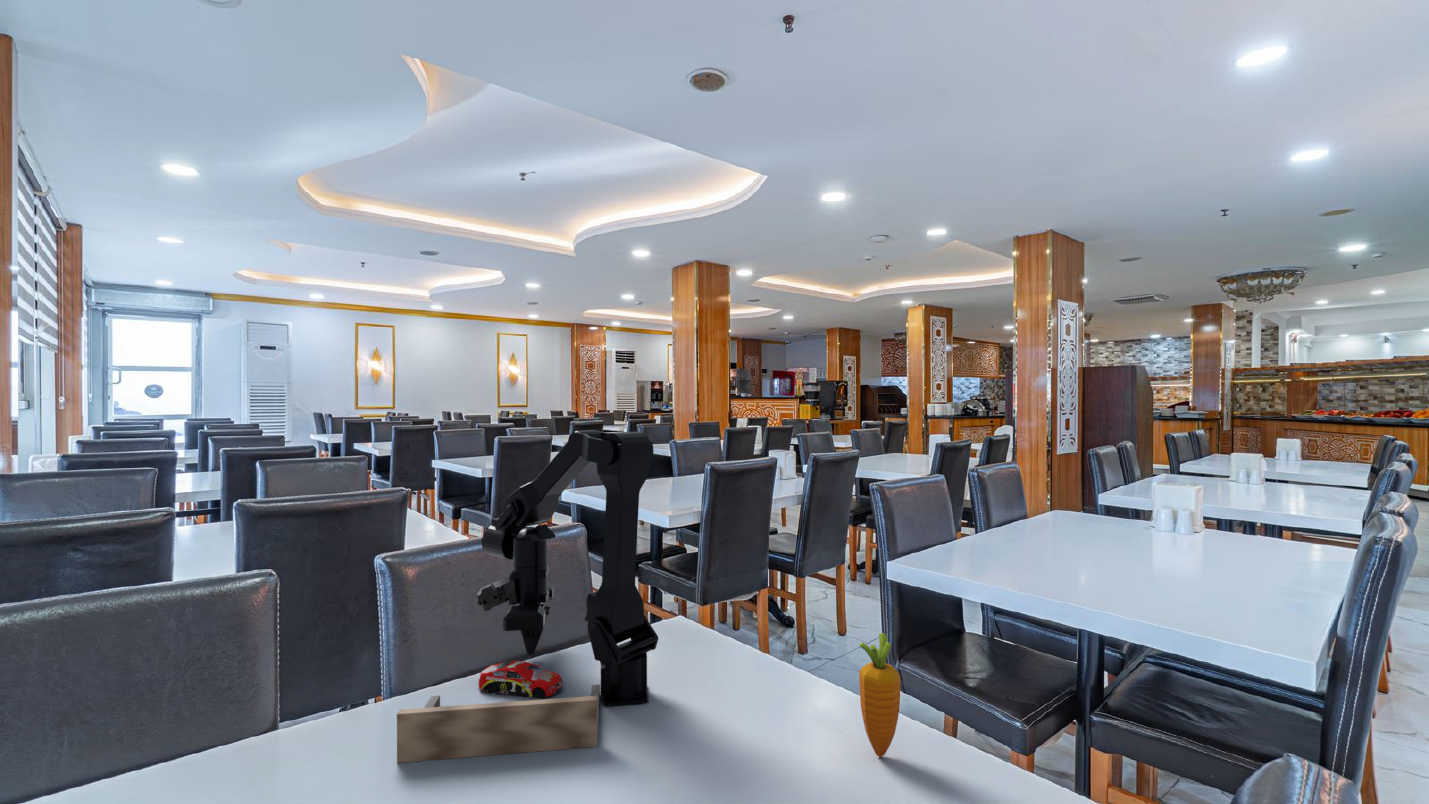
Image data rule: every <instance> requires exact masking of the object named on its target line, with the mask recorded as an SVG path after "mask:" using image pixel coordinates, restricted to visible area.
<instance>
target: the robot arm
mask: <svg viewBox="0 0 1429 804" xmlns="http://www.w3.org/2000/svg"><path fill="white" fill-rule="evenodd" d="M654 451H655V450H654V445H653V442H652V441H651V440H650V438H649V436H648V435H646V434H645V432H642V431H627V432H625V431H624V432H604V431H599V430H597V429H588V430H587V429H585V430H576V431H574V432H572V433H571V434H570V435H569V437H568V440H567V441H566V443H565V444H564V445H563V446H562V447H561V449H560V450H559V451H558V452H557V453H556V455H555V456H554V457H553V458H552V459H551V460H550V462H549V463H548V464H547V465H546V466H545V468H543V470H542V471H541V472H540V473H539V475H537V477H536V478H535V479H533V480H531V481H530V482H527V483H526V484H523V485H521V486H520V487H518V488H517V489H515V490H514V491H513V492H512V493H510V495H508V497H507V498H506V502H505V505H504V508H503V509H502V511H501V513H500V516H499V517H496V518H495V517H494V518H492V519H491V520H490V521H491V525H490V526H489V527H487V528H486V529H485V530H484V533H483V535H482V537H481V540H480V542H481V548H482V550H483V551H484V552H485V553H486V554H487V555H489V556H493V557H498V558H500V559H506V560H512V571H511V573H510V574H509V575H508V577H506V578H503V579H500V580H497V581H495V582H493V583H489V584H487V585H485V586H483V587H481V588H480V590H479V591H478V592H477V593H476V596H477V599H478V600H477V604H478V606H481V608H482V611H483V612H488V611H490V610H492V609H493V608H494V607H498V606H500V605H502V604H505V603H506V602H508V605H509V606H511V607H510V608H509V609H508V610H507V611H506V612H505V614H504V616H503V619H502V622H503V623H502V626H503V627H502V630H503V631H504V632H514V631H518V632H519V631H520V634H521V636H522V639H523V644H524V648H525V652H526V654H527V656H533V655H535V652H536V649H537V647H538V644H539V641H540V639H541V636H542V634H543V630H544V628H545V625H546V622H547V620H548V616H549V614H550V610H551V606H548V605H547V606H545V605H544V604H543V603H547V601H548V600H550V601H552V600H553V599H554V596H555V585H554V584H552V582H551V581H549V580H548V579H549V577H548V574H549V572H550V565H549V564H548V562H549V561H548V540H552V539H556V533H555V532H554V531H553V530H552V529H550V527H549V526H548V524H541V523H544V522H548V521H549V520H551V519H552V517H553V515H554V514H555V512H556V511H557V509H558V508H559V506H560V497H561V495H562V494H563V492H565V490H566V489H567V488H568V487H569V486H570V485H571V484H572V482H574V480H575V479H577V477H578V476H579V475H580V474H581V472H582V471H584V470H585V468H587V466H588V465H589V464H590V463H596V472H597V475H598V477H599V480H600V481H601V483H602V485H603V486H604V489H605V492H606V493H605V511H604V512H605V513H604V530H603V531H604V533H603V534H604V535H603V553H602V556H603V557H602V570H601V571H602V574H601V575H602V576H601V584H600V587H599V588H598V589H597V590H596V591H594V592H591V593H588V594H587V597H586V614H585V618H584V621H585V622H587V626H586V627H587V632H588V633H587V634H588V635H589V636H588V637H589V640H590V644H591V648H592V654H593V657H594V659H595V661H599V662H600V697H601V698H603V705H604V706H606V707H607V706H621V705H632V704H633V705H634V704H635V705H636V704H646V703H648V702H649V691H648V690H649V689H648V652H650V651H654V650H656V649H657V646H658V645H657V644H658V642H659V636H658V635H657V633H656V631H655V629H654V628H653V626H652V625H651V623H650V622H649V620H648V618H647V617H646V615H645V609H644V599H643V596H642V595H641V593H640V591H639V590H638V589H639V588H638V587H637V585H636V581H635V580H636V562H637V561H636V559H637V542H638V526H639V523H638V522H639V503H640V492H641V489H642V488H643V486H644V484H645V482H646V480H647V479H648V477H649V475H650V473H651V469H652V462H653V458H654ZM540 524H541V525H540ZM517 604H518V605H517ZM629 639H630V640H629ZM627 640H628V641H627ZM625 641H626V642H625ZM622 642H623V643H622ZM619 643H621V644H619Z"/></svg>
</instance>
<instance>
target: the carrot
mask: <svg viewBox="0 0 1429 804" xmlns="http://www.w3.org/2000/svg"><path fill="white" fill-rule="evenodd" d="M878 640H879V641H878V642H879V647H878V648H877V646H876V645H875V644H871V645H870V646H869V645H867V644H866V643H864V642H863V641H862V642H860V643H859V647H860V648H861V649H862V650H864V651H865V652H866V654H867V655H868V656H869V658H870V660H871V661H870V662H867V664H865V665H864V666H862V667H861V668H860V669H859V670H860V671H859V675H858V677H859V697H860V700H859V701H860V709H861V715H862V721H863V724H864V730H865V734H866V736H867V738H868V740H869V743H870V745H871V747H872V749H873V751H874V753H875V755H876V756H877V757H878V756H879V757H881V758H883V756H885V755H886V754H887V751H888V749H889V747H890V746H891V744H892V742H893V738H894V737H895V734H896V730H897V726H898V721H899V715H900V704H901V702H900V701H901V675H900V673H899V671H897V669H896V668H894V666H893V665H891V664H889V663H887V657H888V655H889V653H890V650H891V648H892V645H891V643H890V642H888V635H887V634H885V633H883V632H882V633H881V632H880V633H879V634H878ZM879 757H878V758H879Z"/></svg>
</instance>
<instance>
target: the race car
mask: <svg viewBox="0 0 1429 804" xmlns="http://www.w3.org/2000/svg"><path fill="white" fill-rule="evenodd" d="M479 675H480V676H479V678H478V689H480V690H481V691H483V692H487V694H494V695H497V694H498V695H499V694H501V695H510V696H519V697H520V696H521V697H529V698H532V697H533V698H535V699H539V700H543V699H545V698H547V697H551V696H553V695H556V694H558V693H559V692H560V691H562V689H563V685H564V684H563V678H562V677H561V675H560V674H559V673H558V672H555V671H551V670H547V669H544V668H542V667H541V666H540V664H537V665H536V664H534V663H532V662H529V661H525V660H524V661H523V660H508V661H503V662H500V663H495V664H491V665H489V666H487V667H486V668H484V669H483V670H482V671H481V673H480V674H479Z"/></svg>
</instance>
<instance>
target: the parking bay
mask: <svg viewBox="0 0 1429 804" xmlns="http://www.w3.org/2000/svg"><path fill="white" fill-rule="evenodd" d="M590 690H591V691H590V695H589V696H588V695H587V696H576V697H574V696H573V697H561V698H558V697H557V698H547V699H546V698H543V699H533V700H532V699H531V700H517V701H505V702H503V701H501V702H490V703H487V702H486V703H475V704H473V703H472V704H463V705H462V704H461V705H459V704H458V705H445V706H441V695H430V697H429V698H428V701H427V702H426V704H425V705H424V707H420V708H419V707H417V708H405V709H404V708H402V709H399V710H398V712H397V713H396V763H397V764H399V763H400V764H401V763H413V762H424V761H425V762H426V761H435V760H436V761H437V760H448V759H460V758H461V759H462V758H471V757H472V758H473V757H484V756H497V755H498V756H499V755H500V756H501V755H511V754H521V753H533V752H535V753H536V752H546V751H556V750H557V751H559V750H569V749H570V750H571V749H583V748H584V749H585V748H593V747H594V748H596V747H598V734H599V732H598V731H599V716H600V715H599V714H600V698H601V684H591V688H590Z"/></svg>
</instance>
